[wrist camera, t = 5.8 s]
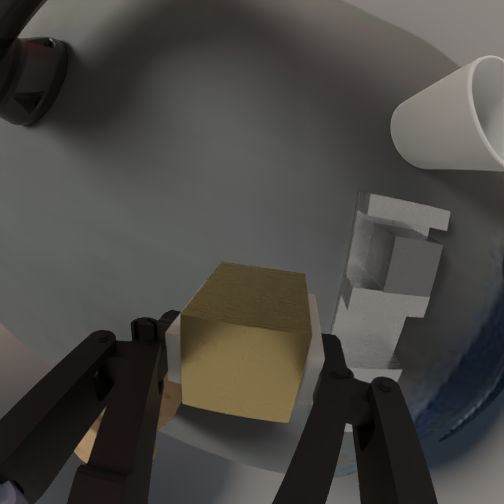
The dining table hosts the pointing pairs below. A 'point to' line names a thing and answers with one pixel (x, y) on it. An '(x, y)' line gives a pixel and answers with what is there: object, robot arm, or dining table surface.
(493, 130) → the cup
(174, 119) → the dining table surface
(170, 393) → the container
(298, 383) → the tan wooden cube
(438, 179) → the dining table surface
